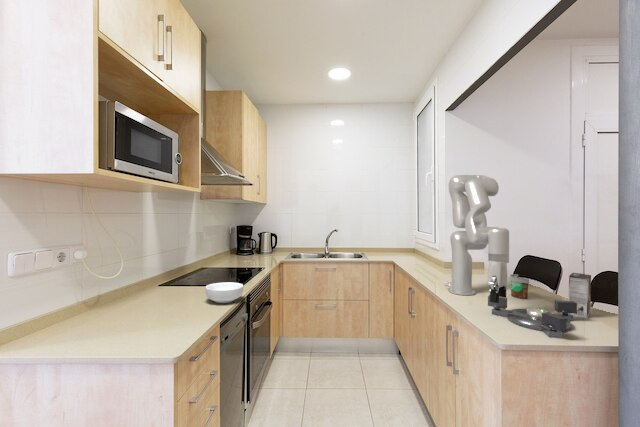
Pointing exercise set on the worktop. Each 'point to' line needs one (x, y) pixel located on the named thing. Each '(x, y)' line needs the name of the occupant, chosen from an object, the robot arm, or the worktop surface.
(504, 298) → the dark grey bracket
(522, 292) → the food container
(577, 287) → the coffee box
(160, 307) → the worktop surface
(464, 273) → the robot arm
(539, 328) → the levelling base
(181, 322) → the worktop surface
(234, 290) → the cereal bowl
